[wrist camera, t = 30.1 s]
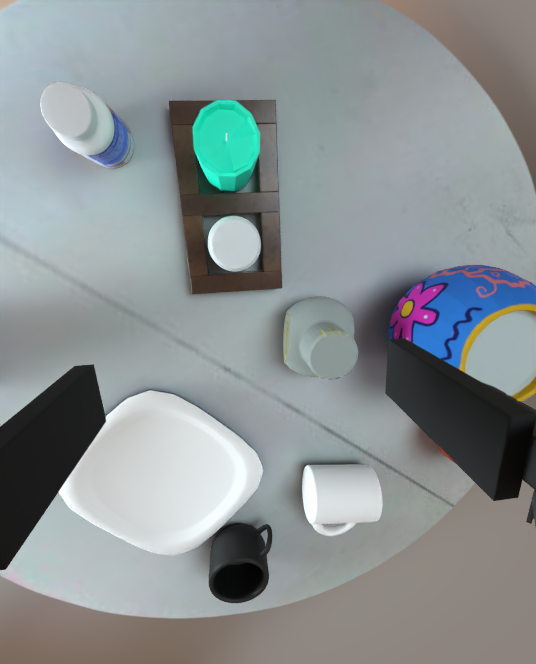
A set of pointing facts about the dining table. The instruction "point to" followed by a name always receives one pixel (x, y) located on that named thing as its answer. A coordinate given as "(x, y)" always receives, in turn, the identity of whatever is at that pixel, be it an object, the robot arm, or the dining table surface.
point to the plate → (162, 474)
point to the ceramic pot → (475, 325)
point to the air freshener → (319, 338)
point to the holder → (228, 201)
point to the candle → (226, 144)
